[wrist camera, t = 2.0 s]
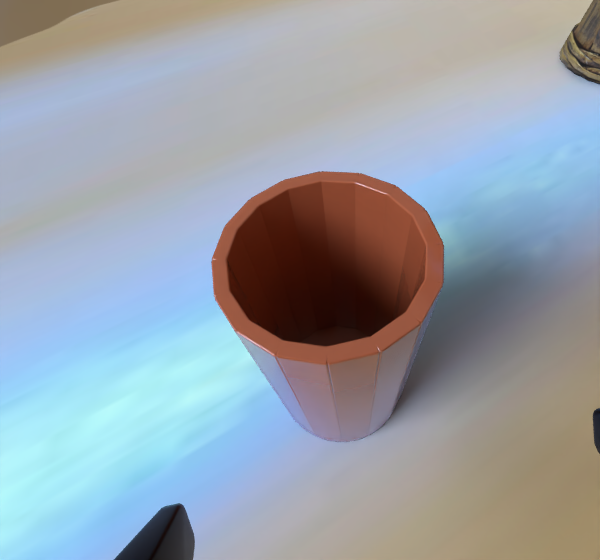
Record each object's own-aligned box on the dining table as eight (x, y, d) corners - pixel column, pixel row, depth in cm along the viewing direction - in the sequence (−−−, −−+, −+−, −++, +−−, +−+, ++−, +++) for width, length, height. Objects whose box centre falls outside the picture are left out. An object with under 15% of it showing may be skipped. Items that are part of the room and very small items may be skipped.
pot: (362, 469, 19) (370, 417, 8) (258, 397, 22) (165, 288, 11) (420, 360, 22) (481, 215, 11) (321, 307, 24) (294, 149, 14)
